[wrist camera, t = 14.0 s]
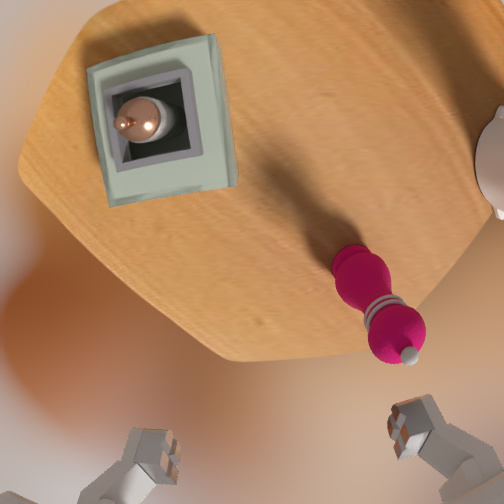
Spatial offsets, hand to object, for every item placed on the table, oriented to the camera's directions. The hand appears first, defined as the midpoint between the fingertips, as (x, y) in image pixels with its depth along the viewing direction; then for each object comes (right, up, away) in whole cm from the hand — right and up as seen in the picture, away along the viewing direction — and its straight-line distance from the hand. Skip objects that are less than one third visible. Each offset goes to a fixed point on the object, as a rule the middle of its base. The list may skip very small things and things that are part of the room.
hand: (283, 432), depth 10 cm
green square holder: (-11, +22, +24) cm, 35 cm away
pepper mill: (+13, +5, +32) cm, 35 cm away
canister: (-11, +22, +23) cm, 34 cm away
